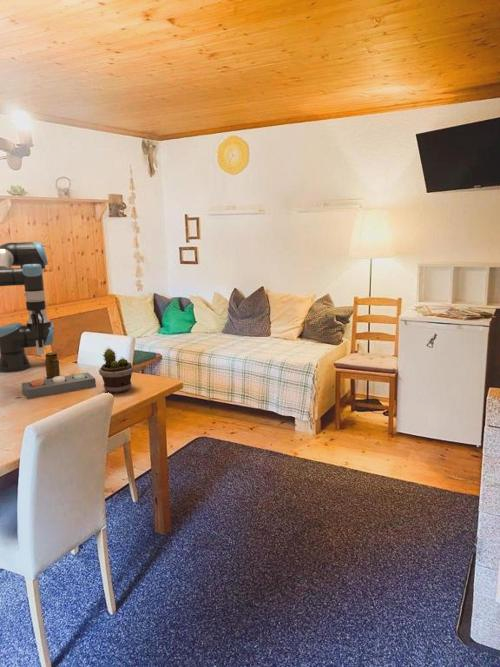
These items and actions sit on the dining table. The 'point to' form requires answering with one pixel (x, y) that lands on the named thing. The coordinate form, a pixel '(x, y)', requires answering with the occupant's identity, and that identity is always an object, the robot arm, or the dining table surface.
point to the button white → (58, 379)
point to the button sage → (79, 376)
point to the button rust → (37, 383)
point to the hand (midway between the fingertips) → (40, 354)
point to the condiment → (52, 365)
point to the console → (58, 386)
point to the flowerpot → (116, 373)
